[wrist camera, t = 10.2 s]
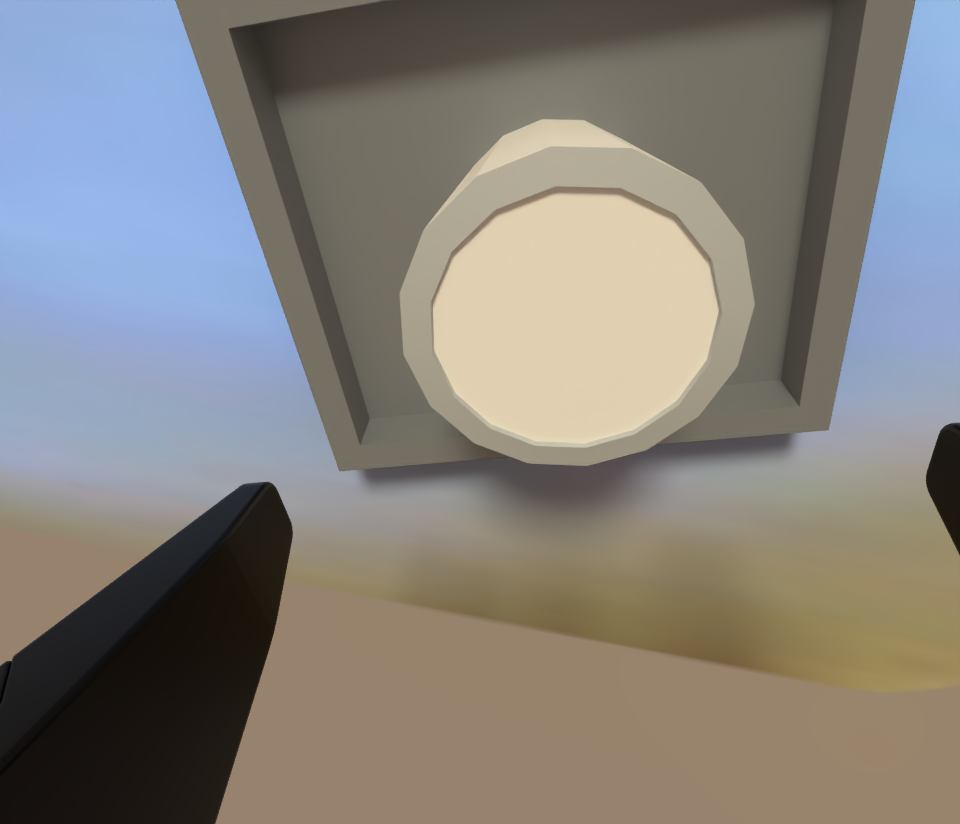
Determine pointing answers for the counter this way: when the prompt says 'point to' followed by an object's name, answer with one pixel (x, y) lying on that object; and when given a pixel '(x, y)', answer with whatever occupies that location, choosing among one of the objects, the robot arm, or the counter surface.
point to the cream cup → (574, 298)
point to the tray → (520, 102)
